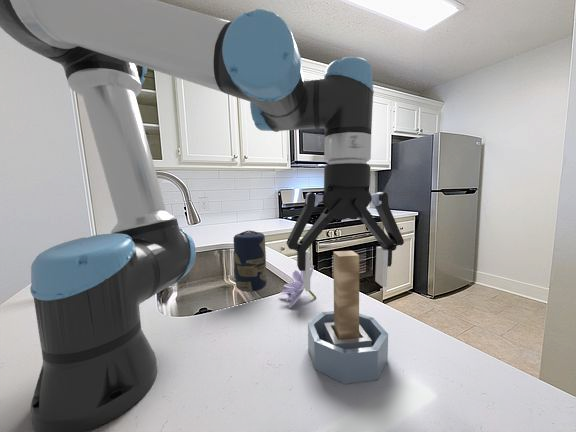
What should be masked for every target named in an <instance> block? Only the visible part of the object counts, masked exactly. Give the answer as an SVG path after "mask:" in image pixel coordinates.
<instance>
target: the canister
mask: <svg viewBox="0 0 576 432" xmlns="http://www.w3.org/2000/svg"><path fill="white" fill-rule="evenodd" d="M233 249H234V250H233V251H234V252H233V253H234V254H233V255H234V272H235V273H234V274H235V287H236V288H237V290H239V291H240V292H245V293H249V292H250V293H252V292H257V291H261V290H262V289H264V288H265V287H266V286H267V262H266V260H267V255H266V238H265V234H264V233H262V232H259V231H255V230H245V231H243V232H240V233H237V234H235V235H234V236H233Z"/></svg>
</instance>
